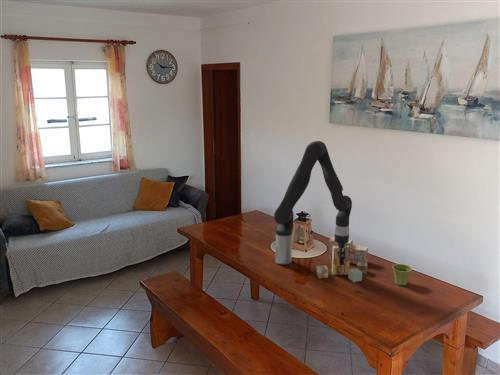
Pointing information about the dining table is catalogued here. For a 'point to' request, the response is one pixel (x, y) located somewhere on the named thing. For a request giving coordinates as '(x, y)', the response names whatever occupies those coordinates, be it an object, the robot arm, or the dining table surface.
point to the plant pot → (401, 273)
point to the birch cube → (322, 271)
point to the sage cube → (355, 275)
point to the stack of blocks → (351, 251)
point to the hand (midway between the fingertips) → (340, 261)
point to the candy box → (336, 267)
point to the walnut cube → (362, 267)
